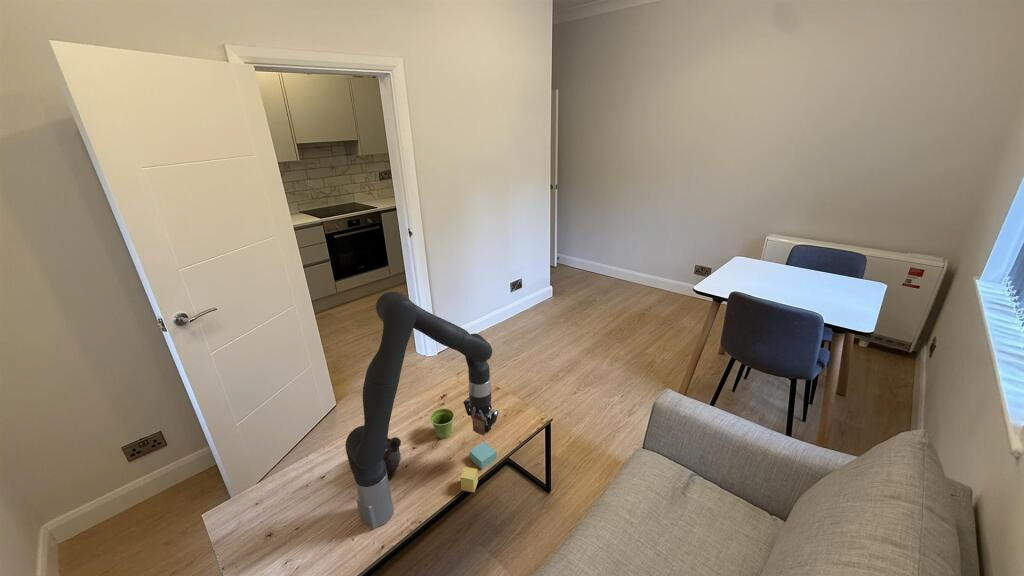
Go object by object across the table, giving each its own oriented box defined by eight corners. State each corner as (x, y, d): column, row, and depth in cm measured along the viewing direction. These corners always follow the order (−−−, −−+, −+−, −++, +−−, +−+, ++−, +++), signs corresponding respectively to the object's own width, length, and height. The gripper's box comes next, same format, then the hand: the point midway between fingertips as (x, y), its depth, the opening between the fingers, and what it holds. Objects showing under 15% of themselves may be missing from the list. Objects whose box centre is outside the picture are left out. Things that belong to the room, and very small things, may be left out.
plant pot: (453, 442, 159) (452, 424, 155) (429, 442, 159) (427, 424, 156) (457, 425, 168) (456, 408, 164) (434, 425, 168) (432, 408, 164)
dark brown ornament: (361, 479, 143) (352, 440, 136) (374, 455, 153) (367, 417, 146) (404, 484, 142) (397, 444, 134) (414, 459, 152) (409, 421, 144)
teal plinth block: (482, 470, 147) (481, 462, 145) (470, 459, 152) (469, 451, 150) (496, 459, 151) (496, 451, 150) (484, 449, 156) (484, 441, 154)
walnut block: (483, 435, 143) (482, 422, 141) (473, 430, 145) (472, 417, 143) (490, 428, 146) (490, 414, 144) (480, 423, 149) (480, 410, 146)
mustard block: (474, 492, 138) (473, 479, 136) (461, 490, 139) (460, 477, 137) (477, 481, 142) (477, 469, 140) (465, 479, 143) (464, 466, 141)
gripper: (456, 388, 139) (459, 427, 146) (490, 403, 132) (492, 443, 139) (470, 377, 145) (472, 415, 152) (503, 390, 138) (504, 429, 145)
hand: (481, 428), depth 146 cm, fingers closed on walnut block, 4 cm apart
